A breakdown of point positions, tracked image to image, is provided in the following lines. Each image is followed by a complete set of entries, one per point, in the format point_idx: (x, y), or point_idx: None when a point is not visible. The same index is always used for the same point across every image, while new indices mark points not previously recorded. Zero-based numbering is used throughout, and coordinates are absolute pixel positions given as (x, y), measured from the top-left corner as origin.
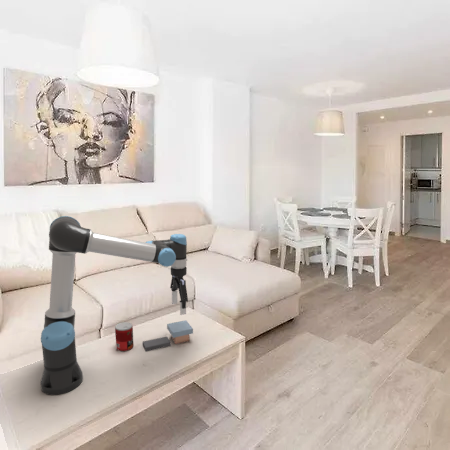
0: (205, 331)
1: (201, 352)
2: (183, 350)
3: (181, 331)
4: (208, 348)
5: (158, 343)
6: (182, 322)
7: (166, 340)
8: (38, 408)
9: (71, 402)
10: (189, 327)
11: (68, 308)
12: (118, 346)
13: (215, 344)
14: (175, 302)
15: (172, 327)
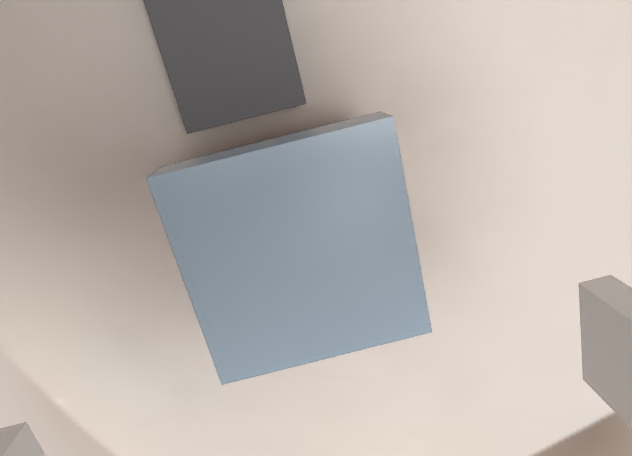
0: (382, 406)
1: (70, 358)
2: (108, 232)
3: (182, 272)
4: (125, 406)
5: (172, 5)
6: (386, 293)
7: (222, 93)
8: None
9: None
10: (253, 356)
11: None
12: None
13: (177, 452)
14: (598, 360)
15: (286, 179)
